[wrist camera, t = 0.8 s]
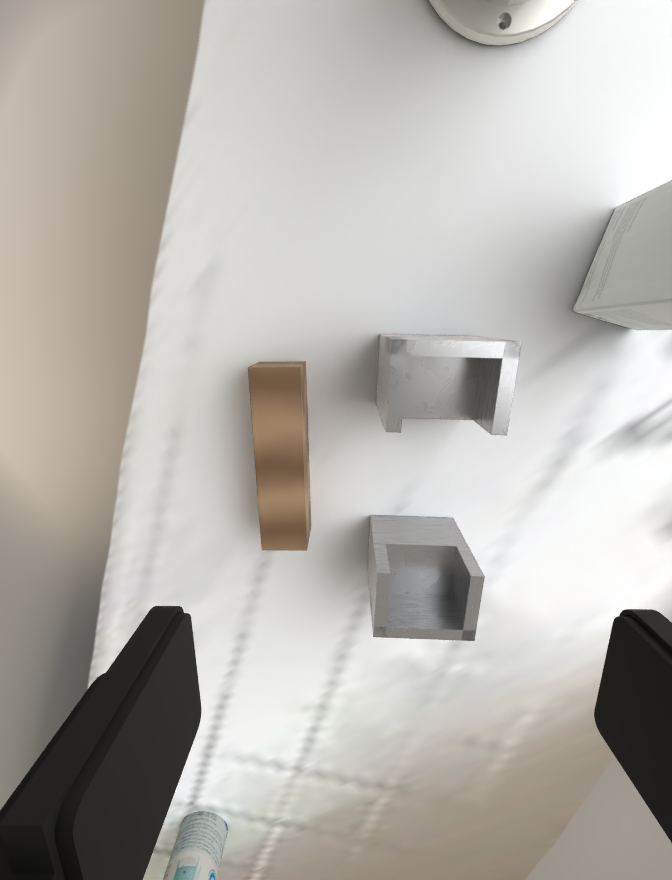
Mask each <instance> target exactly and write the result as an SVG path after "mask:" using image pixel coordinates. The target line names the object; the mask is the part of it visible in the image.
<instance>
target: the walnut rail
mask: <svg viewBox="0 0 672 880" xmlns="http://www.w3.org/2000/svg"><path fill="white" fill-rule="evenodd" d="M248 374H249V387H250V400H251V414H252V427H253V440H254V453H255V466H256V479H257V492H258V506H259V519H260V532H261V545H262V550H307V547H308V541H309V536H310V530H311V506H310V475H309V444H308V413H307V382H306V362H259V363H257V364H255V365H253V366H250V367H248Z"/></svg>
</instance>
